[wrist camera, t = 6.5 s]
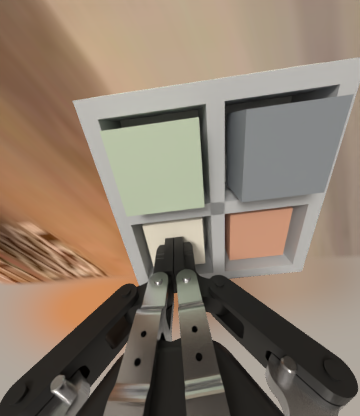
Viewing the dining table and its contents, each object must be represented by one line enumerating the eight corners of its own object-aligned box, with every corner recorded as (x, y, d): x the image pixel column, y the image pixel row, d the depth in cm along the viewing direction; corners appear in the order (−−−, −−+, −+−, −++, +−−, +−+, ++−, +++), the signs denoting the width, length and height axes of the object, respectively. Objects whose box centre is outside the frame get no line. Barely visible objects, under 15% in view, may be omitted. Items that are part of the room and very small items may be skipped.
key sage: (192, 118, 11) (198, 117, 8) (198, 188, 13) (204, 207, 10) (120, 129, 11) (99, 131, 8) (138, 195, 13) (126, 216, 10)
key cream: (197, 201, 16) (202, 219, 13) (200, 240, 18) (205, 263, 15) (148, 207, 16) (142, 226, 13) (157, 245, 18) (154, 268, 15)
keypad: (311, 67, 12) (389, 34, 8) (278, 241, 20) (307, 275, 15) (96, 99, 13) (53, 86, 8) (143, 256, 20) (134, 293, 16)
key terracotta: (270, 192, 16) (292, 208, 13) (265, 233, 18) (282, 254, 15) (220, 198, 16) (230, 215, 13) (220, 238, 18) (229, 260, 15)
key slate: (303, 102, 10) (354, 93, 7) (289, 176, 12) (324, 192, 10) (226, 113, 10) (246, 109, 8) (226, 184, 13) (241, 202, 10)
